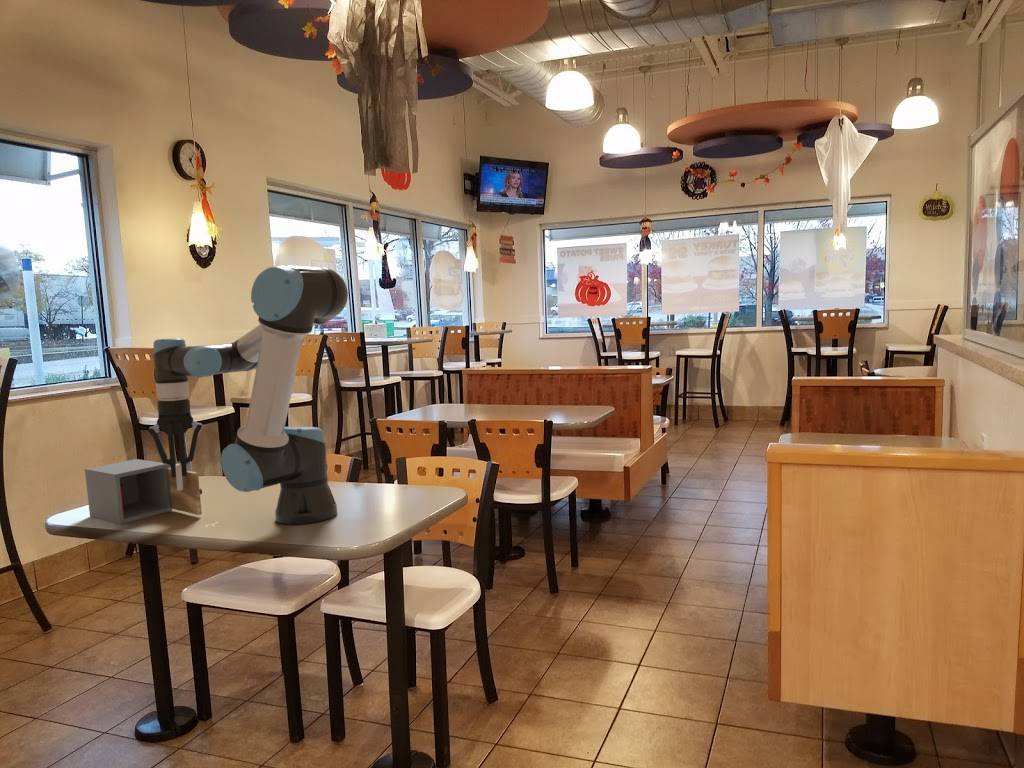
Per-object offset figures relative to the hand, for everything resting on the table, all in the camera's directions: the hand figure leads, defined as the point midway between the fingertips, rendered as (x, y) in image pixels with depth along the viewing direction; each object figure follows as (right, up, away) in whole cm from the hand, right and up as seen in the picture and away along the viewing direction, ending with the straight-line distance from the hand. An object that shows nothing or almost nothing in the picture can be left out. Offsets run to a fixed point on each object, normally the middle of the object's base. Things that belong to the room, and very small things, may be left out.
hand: (180, 489), depth 189 cm
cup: (-11, -6, +23) cm, 27 cm away
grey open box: (-17, -8, +8) cm, 20 cm away
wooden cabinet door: (0, -7, +5) cm, 8 cm away
